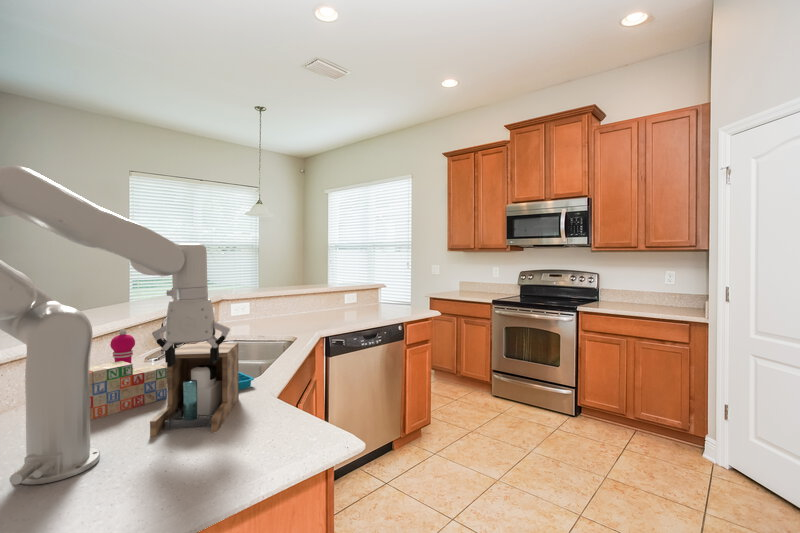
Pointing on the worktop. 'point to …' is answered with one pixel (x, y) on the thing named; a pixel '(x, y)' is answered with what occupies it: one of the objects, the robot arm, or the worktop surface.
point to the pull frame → (188, 410)
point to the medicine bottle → (207, 389)
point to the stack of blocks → (124, 387)
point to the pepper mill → (122, 346)
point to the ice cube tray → (244, 380)
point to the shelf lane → (181, 372)
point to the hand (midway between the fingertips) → (192, 364)
